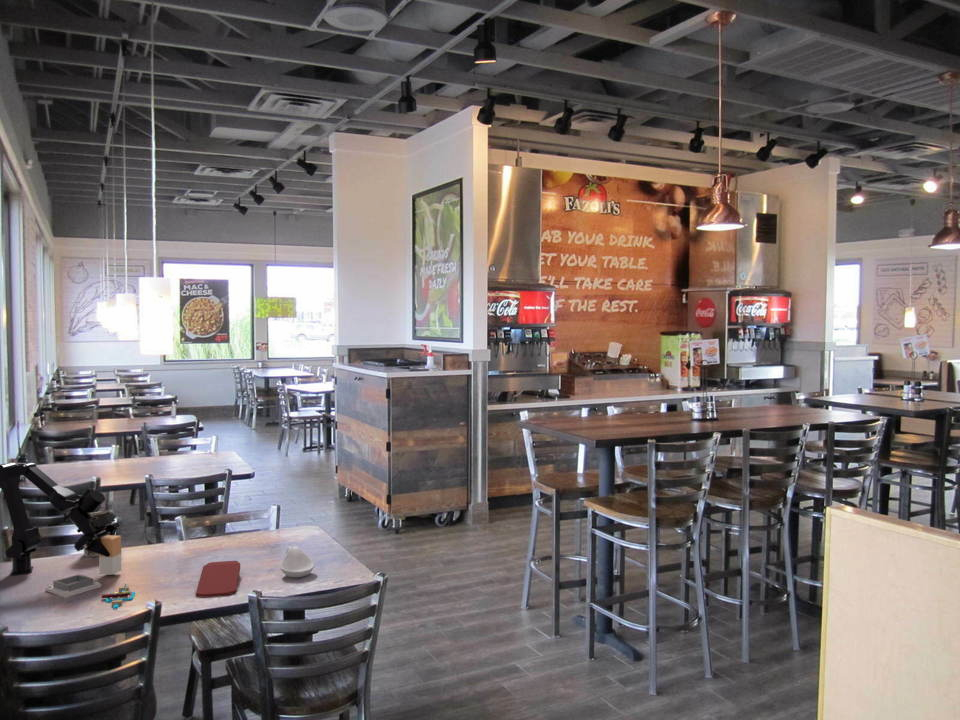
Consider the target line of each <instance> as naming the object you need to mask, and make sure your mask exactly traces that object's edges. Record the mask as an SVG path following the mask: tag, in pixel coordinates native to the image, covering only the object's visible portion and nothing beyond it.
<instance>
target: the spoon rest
mask: <svg viewBox="0 0 960 720" xmlns="http://www.w3.org/2000/svg"><path fill="white" fill-rule="evenodd" d="M285 553H286V554H285V556H284V557H283V559H282V561H281V563H280V566H279V568H280V570H281V572H282V573H283V574H284V575H285V576H286V577H289V578H291V579H292V578H297V579H298V578H303V577H306V576H308V575H309V574H311V572H312V571H314V568H315V563H314V561H313V560H312V559H311V558H310V557H309V556H308V555H307V554H306V553H305V552H304V551H303V550H302V549H301V548H300V547H299V546H298V545H296V546H288V547H287V550H286V552H285Z"/></svg>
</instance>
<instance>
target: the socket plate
mask: <svg viewBox="0 0 960 720" xmlns="http://www.w3.org/2000/svg"><path fill="white" fill-rule="evenodd" d="M52 583H53V584H49V585H47V586H46V587H45V588H44V589H45V590H44V591H45V592H48V593H51V594H54V595H57V596H60V597H63V598H68V597H72V596H75V595H79V594H81V593H85V592H89V591H91V590H95V589H98V588H101V587H102V583H100V582H99V581H94V577H93V578H92V577H91V576H87V575H83V574H80V573H77V574H73V575H70V576H67V577H63V578H60V579H56V580H53V581H52Z"/></svg>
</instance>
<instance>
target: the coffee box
mask: <svg viewBox="0 0 960 720" xmlns="http://www.w3.org/2000/svg"><path fill="white" fill-rule="evenodd" d="M109 511H110V510H108V509H106V510H99V511H94V512H93V513H90V514H91V515H92V517H98V518H101V517H103V516H105V513H107V512H109ZM111 523H113V522H111ZM111 523H109V524H111ZM109 524H107V526H108V525H109ZM107 526H106V527H107ZM106 527H105V528H106ZM105 528H104V529H105ZM104 529H103V530H104ZM82 534H83V533H82ZM83 535H84V534H83ZM83 535H82V536H83ZM86 547H87V546H86V544H85V545H84V549H83V555H84V556H86V558H94V557H99V554H98V553H95V552H92V551H89V550H85V548H86Z"/></svg>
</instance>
